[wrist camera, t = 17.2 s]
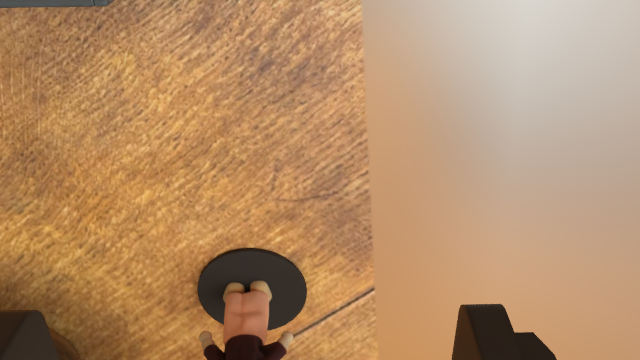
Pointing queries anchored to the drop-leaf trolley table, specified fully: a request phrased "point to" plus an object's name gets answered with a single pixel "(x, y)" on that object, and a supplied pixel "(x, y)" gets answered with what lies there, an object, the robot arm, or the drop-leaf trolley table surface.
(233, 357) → the grandmother figurine
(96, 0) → the crate
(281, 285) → the coaster
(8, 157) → the drop-leaf trolley table surface
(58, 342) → the bowl
